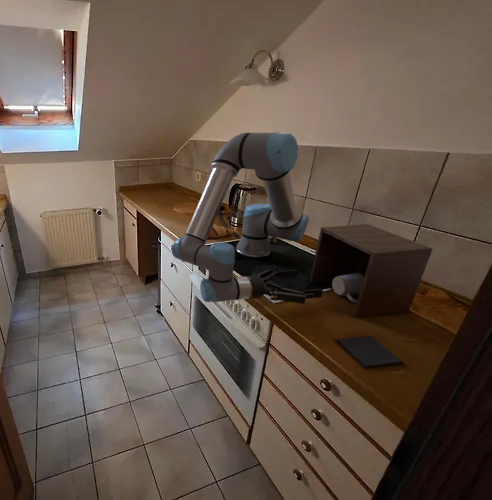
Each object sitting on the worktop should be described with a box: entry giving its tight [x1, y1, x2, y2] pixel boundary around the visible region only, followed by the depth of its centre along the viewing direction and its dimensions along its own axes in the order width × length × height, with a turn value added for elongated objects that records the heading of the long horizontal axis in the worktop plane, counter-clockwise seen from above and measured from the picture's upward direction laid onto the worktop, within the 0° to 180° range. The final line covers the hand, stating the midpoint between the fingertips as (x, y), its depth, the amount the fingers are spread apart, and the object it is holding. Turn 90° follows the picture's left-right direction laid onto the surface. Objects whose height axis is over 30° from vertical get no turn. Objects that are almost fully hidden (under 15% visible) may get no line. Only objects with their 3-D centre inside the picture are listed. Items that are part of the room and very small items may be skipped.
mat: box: [336, 335, 403, 369], centre depth 79 cm, size 10×10×1 cm
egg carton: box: [268, 236, 278, 243], centre depth 156 cm, size 11×8×4 cm
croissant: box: [207, 223, 234, 239], centre depth 163 cm, size 21×10×8 cm, turn 101°
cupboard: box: [309, 223, 433, 318], centre depth 101 cm, size 23×18×22 cm
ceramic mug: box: [331, 273, 364, 304], centre depth 103 cm, size 11×8×8 cm
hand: (308, 282), depth 101 cm, fingers open, 13 cm apart
